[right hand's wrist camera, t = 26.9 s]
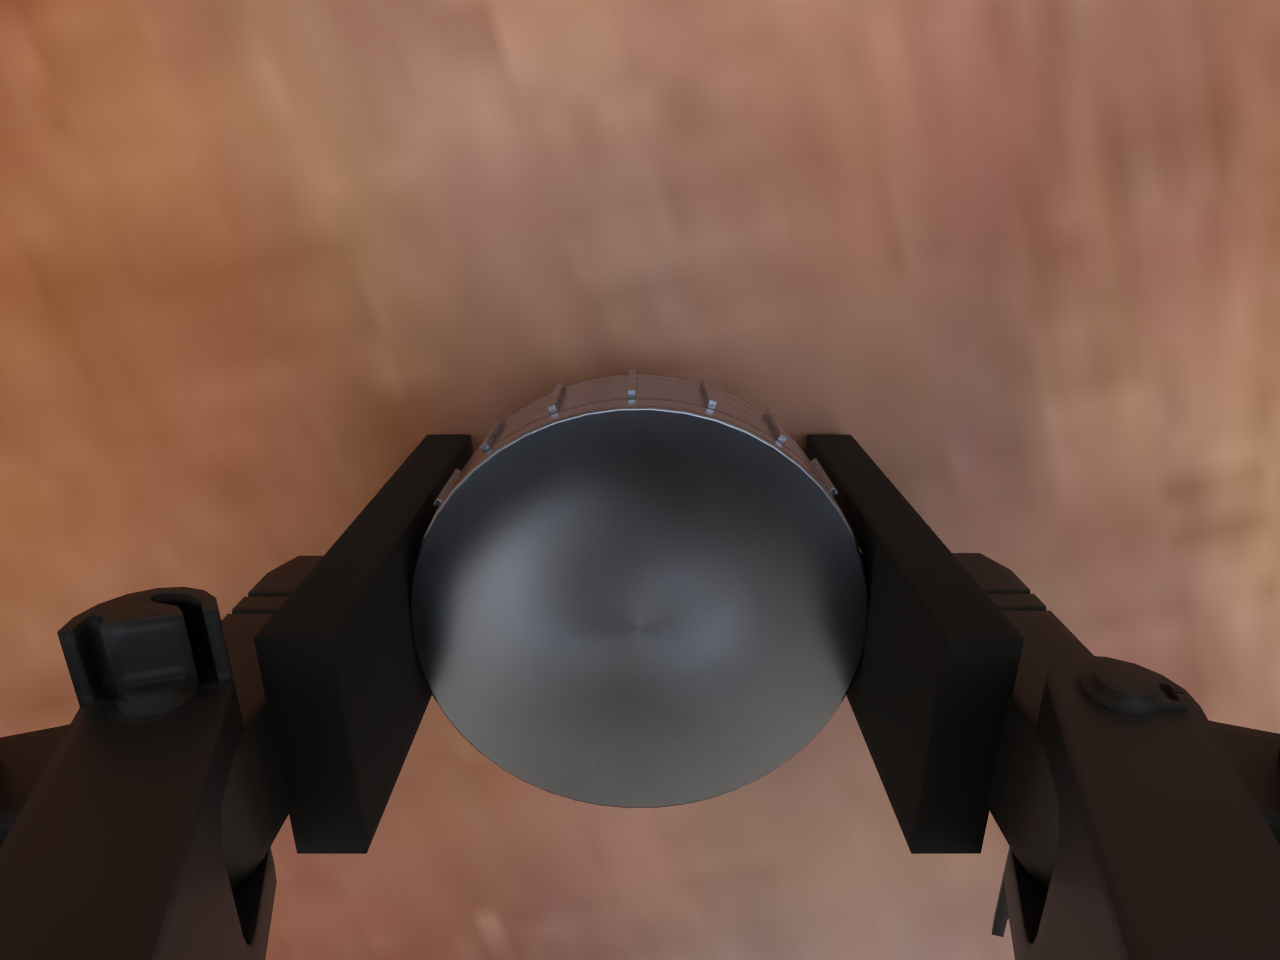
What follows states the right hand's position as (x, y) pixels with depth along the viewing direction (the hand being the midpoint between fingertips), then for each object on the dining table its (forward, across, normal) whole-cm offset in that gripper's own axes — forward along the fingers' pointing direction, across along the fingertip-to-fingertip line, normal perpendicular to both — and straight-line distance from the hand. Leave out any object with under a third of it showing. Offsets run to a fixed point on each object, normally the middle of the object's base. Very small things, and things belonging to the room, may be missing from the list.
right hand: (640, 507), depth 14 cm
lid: (-4, 0, 0) cm, 4 cm away
